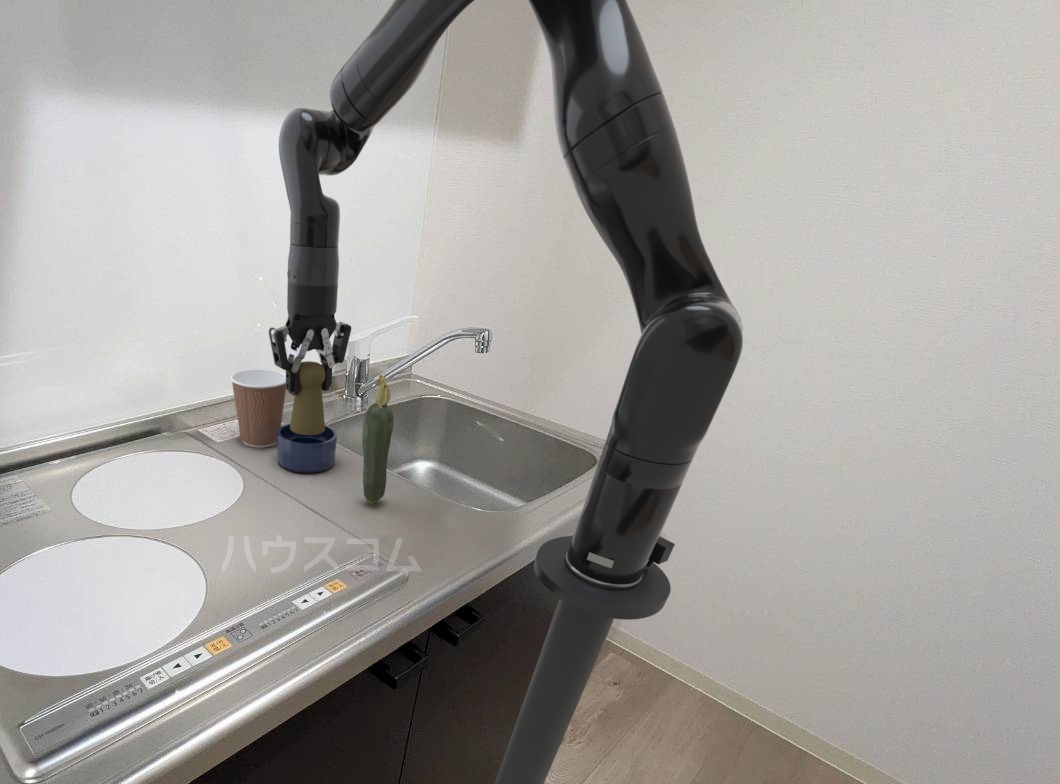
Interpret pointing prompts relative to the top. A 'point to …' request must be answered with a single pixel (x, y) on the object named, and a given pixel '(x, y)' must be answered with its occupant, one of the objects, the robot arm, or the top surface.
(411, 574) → the top surface
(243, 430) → the coffee cup
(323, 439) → the bowl
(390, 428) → the vegetable
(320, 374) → the cork
